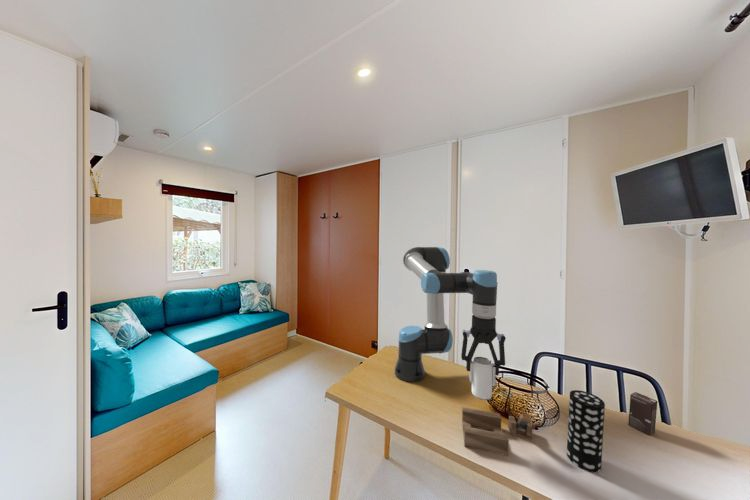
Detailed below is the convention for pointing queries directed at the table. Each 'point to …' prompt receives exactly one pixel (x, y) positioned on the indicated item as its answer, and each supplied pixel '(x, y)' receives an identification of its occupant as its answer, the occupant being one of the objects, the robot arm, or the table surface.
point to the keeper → (523, 421)
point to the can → (482, 378)
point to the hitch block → (488, 439)
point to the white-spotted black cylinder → (585, 430)
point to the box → (642, 413)
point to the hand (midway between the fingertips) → (481, 381)
